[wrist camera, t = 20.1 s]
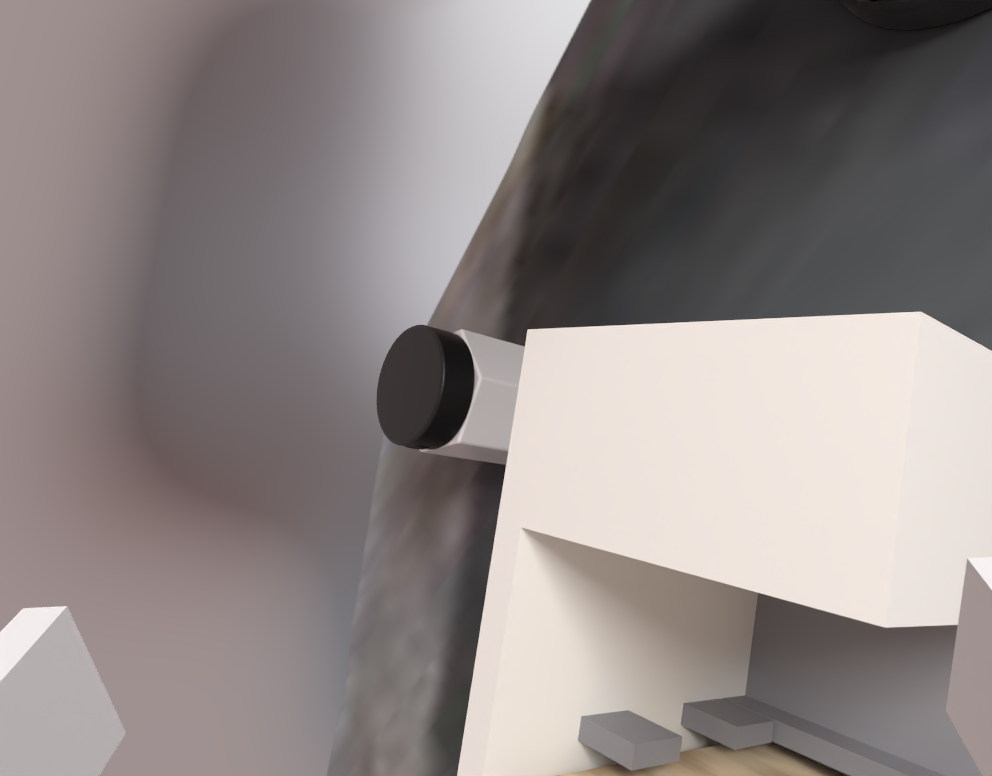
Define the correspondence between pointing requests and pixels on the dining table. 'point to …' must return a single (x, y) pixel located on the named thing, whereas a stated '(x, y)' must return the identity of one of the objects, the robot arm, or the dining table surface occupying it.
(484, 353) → the jar
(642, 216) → the dining table surface
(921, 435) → the cabinet
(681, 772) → the tan patterned box
